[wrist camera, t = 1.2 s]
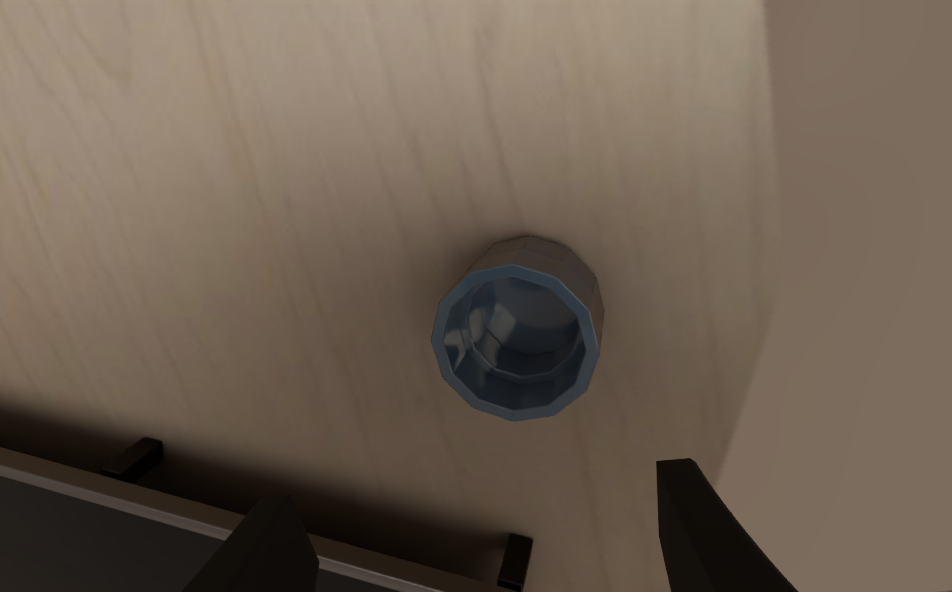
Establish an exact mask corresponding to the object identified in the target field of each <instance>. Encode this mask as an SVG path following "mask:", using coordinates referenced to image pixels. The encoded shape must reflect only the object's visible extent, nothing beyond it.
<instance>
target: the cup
mask: <svg viewBox="0 0 952 592" xmlns="http://www.w3.org/2000/svg"><path fill="white" fill-rule="evenodd" d="M603 320H604V307H603V302H602V298H601V294H600V290H599V286H598V281H597V278H596V276H595V274H594V273H593V272H592V271H591V270H590V269H589V268H588V267H587V266H586V265H585V264H584V263H583V262H582V261H581V260H580V259H579V258H578V257H577V256H576V255H575V254H574V253H573V252H572V250H571V249H569V248H567V247H565V246H562V245H559V244H555V243H552V242H549V241H545V240H542V239H539V238H535V237H530V236H527V237H523V238H519V239H514V240H510V241H506V242H501V243H497V244H494V245H493V246H491V247H490V248H489V249H488V250H487V251H486V252H485V253H484V254H483V255H482V256H481V257H480V258H478V259H477V260H476V261H475V262H474V263H473V264H472V265H471V266H470V267H469V268H468V269H467V270H466V272H465V273H464V274H463V275H462V276H461V277H460V278H459V280H458V281H457V282H456V283H455V284H454V285H453V286H452V287H451V289H450V290H449V291H448V292H447V293H446V294H445V295H444V297H443V298H442V299H441V300H440V302H439V305H438V310H437V314H436V318H435V323H434V327H433V331H432V335H431V343H432V346H433V349H434V352H435V355H436V358H437V361H438V364H439V368H440V371H441V374H442V377H443V378H444V380H445V381H446V382H447V383H448V384H449V385H450V386H451V387H452V388H453V389H454V390H455V391H456V392H457V393H458V394H459V395H460V396H461V397H462V398H463V399H464V400H465V401H466V402H467V403H468V404H469V405H470V406H471V407H473V408H475V409H478V410H481V411H484V412H486V413H489V414H492V415H495V416H498V417H501V418H504V419H507V420H510V421H520V420H527V419H534V418H541V417H549V416H553V415H556V414H557V413H558V412H560V411H561V410H562V409H564V408H565V407H566V406H567V405H569V404H570V403H571V402H573V401H574V400H575V399H577V398H578V397H579V396H580V395H582V394H583V393H584V392H585V391H586V390H587V388H588V385H589V382H590V380H591V377H592V374H593V371H594V368H595V365H596V363H597V360H598V357H599V354H600V347H601V338H602V328H603Z"/></svg>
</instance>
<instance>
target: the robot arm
mask: <svg viewBox="0 0 952 592" xmlns="http://www.w3.org/2000/svg"><path fill="white" fill-rule="evenodd" d="M656 465H657V494H658V522H659V538H660V543H661V547H662V552H663V557H664V561H665V566H666V570H667V575H668V579H669V584H670V588H671V592H798V591H797V590H796V589H795V588H794V587H793V585H792V584H791V583H790V582H789V581H788V580H787V579H786V578H785V577H784V576H783V575H782V574H781V572H780V571H779V570H778V569H777V568H776V567H775V565H774V564H773V563H772V562H771V561H770V560H769V559H768V557H767V556H766V555H765V554H764V553H763V551H762V550H761V549H760V548H759V547H758V545H757V544H756V543H755V542H754V541H753V539H752V538H751V537H750V536H749V535H748V533H747V532H746V531H745V530H744V529H743V527H742V526H741V525H740V524H739V522H738V521H737V520H736V519H735V517H734V516H733V515H732V513H731V512H730V511H729V510H728V508H727V507H726V505H725V504H724V503H723V501H722V500H721V499H720V497H719V496H718V495H717V493H716V492H715V490H714V489H713V488H712V486H711V485H710V483H709V482H708V480H707V479H706V477H705V476H704V474H703V473H702V471H701V470H700V468H699V467H698V465H697V463H696V462H695V461H693V460H692V459H690V458H686V459H675V460H664V461H656ZM319 563H320V562H319V559H318V557H317V555H316V552H315V550H314V548H313V546H312V543H311V541H310V539H309V536H308V534H307V532H306V530H305V527H304V525H303V523H302V520H301V518H300V516H299V514H298V511H297V509H296V507H295V504H294V502H293V500H292V497H291V495H282V496H271V497H262V498H261V499H260V500H259V501H258V502H257V503H256V505H255V506H254V507H253V508H252V509H251V510H250V511H249V513H248V514H247V515H246V516H245V517H244V519H243V520H242V521H241V522H240V523H239V525H238V526H237V527H236V528H235V529H234V531H233V532H232V533H231V534H230V535H229V537H228V538H227V539H226V540H225V541H224V543H223V544H222V545H221V546H220V547H219V548H218V550H217V551H216V552H215V553H214V554H213V556H212V557H211V558H210V559H209V560H208V561H207V563H206V564H205V565H204V566H203V567H202V568H201V570H200V571H199V572H198V573H197V574H196V575H195V576H194V578H193V579H192V580H191V581H190V582H189V583H188V585H187V586H186V587H185V588H184V589H183V590H182V592H315V588H316V582H317V576H318V569H319Z"/></svg>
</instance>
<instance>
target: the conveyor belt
mask: <svg viewBox="0 0 952 592" xmlns="http://www.w3.org/2000/svg"><path fill="white" fill-rule="evenodd" d="M162 460H163V447H162V442H161V441H157V440H153V439H150V438H146V437H144V438H142V439H141V440H139V441H138V442H137V443H135V444H134V445H132V446H131V447H130V448H128V449H127V450H126V451H124V452H123V453H121V454H120V455H119V456H117V457H116V458H115V459H113V460H112V461H110V462H109V463H108V464H106V465H105V466H104V467H102V468H101V475H99V474H95V473H92V472H88V471H85V470H81V469H77V468H74V467H70V466H67V465H63V464H59V463H56V462H52V461H49V460H45V459H42V458H38V457H34V456H31V455H27V454H24V453H20V452H17V451H13V450H9V449H6V448H2V447H0V592H182V590H183V589H184V588H185V587H186V586H187V585H188V583H189V582H190V581H191V580H192V579H193V578H194V576H195V575H196V574H197V573H198V572H199V571H200V570H201V568H202V567H203V566H204V565H205V564H206V563H207V561H208V560H209V559H210V558H211V557H212V556H213V554H214V553H215V552H216V551H217V550H218V548H219V547H220V546H221V545H222V544H223V543H224V541H225V540H226V539H227V538H228V537H229V535H230V534H231V533H232V532H233V531H234V529H235V528H236V527H237V526H238V525H239V523H240V522H241V521H242V520H243V519H244V517H245V516H246V515H242V514H238V513H235V512H231V511H228V510H224V509H221V508H217V507H213V506H210V505H206V504H203V503H199V502H195V501H192V500H188V499H185V498H181V497H178V496H174V495H170V494H167V493H163V492H160V491H156V490H153V489H149V488H145V487H142V486H138V485H135V484H133V483H134V482H136V481H137V480H138V479H139V478H141V477H142V476H143V475H144V474H145V473H147V472H148V471H149V470H150V469H152V468H153V467H154V466H155V465H157V464H158V463H159V462H160V461H162ZM307 534H308V536H309V539H310V541H311V543H312V546H313V548H314V550H315V552H316V555H317V557H318V559H319V562H320V563H319V569H318V576H317V582H316V588H315V592H523V589H524V584H525V579H526V575H527V570H528V565H529V561H530V556H531V550H532V545H533V540H532V539H529V538H526V537H522V536H518V535H514V534H510V536H509V539H508V543H507V546H506V550H505V554H504V558H503V561H502V565H501V569H500V572H499V576H498V580H497V586H496V585H492V584H489V583H485V582H482V581H478V580H475V579H471V578H467V577H464V576H460V575H457V574H453V573H450V572H446V571H442V570H439V569H435V568H432V567H428V566H424V565H421V564H417V563H414V562H410V561H407V560H403V559H399V558H396V557H392V556H389V555H385V554H382V553H378V552H374V551H371V550H367V549H364V548H360V547H357V546H353V545H349V544H346V543H342V542H339V541H335V540H331V539H328V538H324V537H321V536H317V535H314V534H310V533H307Z"/></svg>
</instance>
